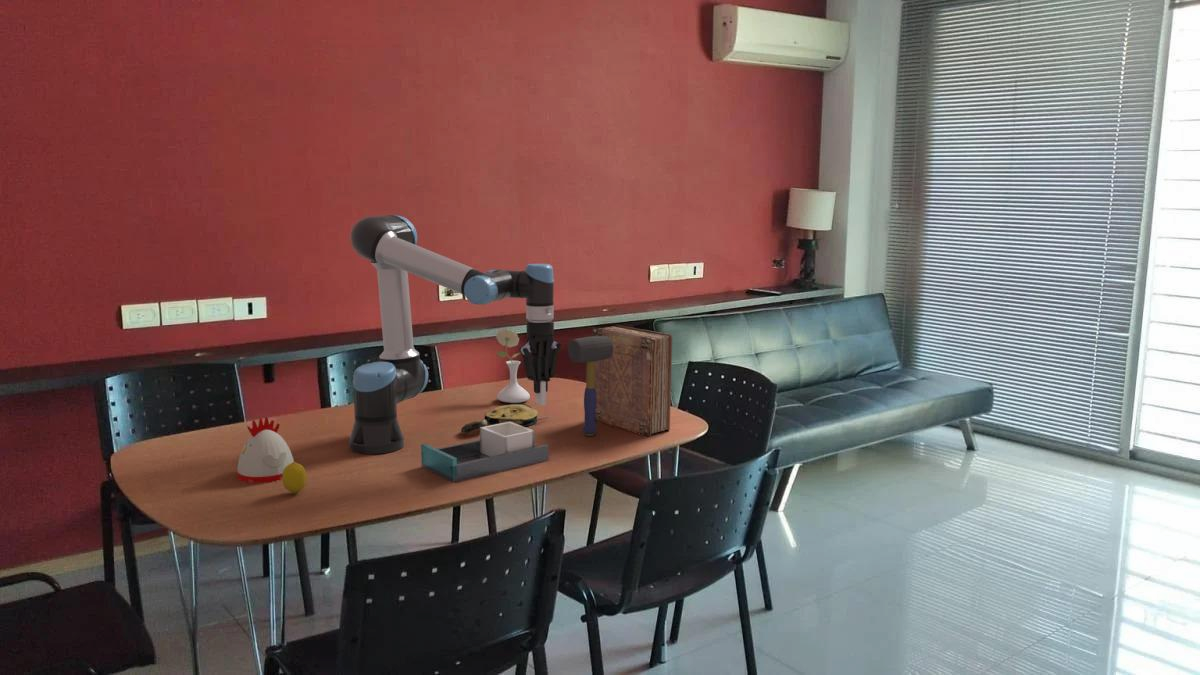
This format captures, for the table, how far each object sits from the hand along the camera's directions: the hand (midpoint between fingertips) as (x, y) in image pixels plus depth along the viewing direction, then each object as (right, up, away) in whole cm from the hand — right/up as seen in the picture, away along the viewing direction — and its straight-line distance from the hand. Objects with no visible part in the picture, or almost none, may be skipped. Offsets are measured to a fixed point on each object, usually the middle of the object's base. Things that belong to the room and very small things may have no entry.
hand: (540, 403), depth 251 cm
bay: (-14, -15, -9) cm, 23 cm away
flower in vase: (-14, -4, +58) cm, 60 cm away
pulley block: (-14, -9, +27) cm, 32 cm away
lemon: (-57, -19, -34) cm, 69 cm away
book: (+26, -9, +30) cm, 41 cm away
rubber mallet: (+13, -11, +19) cm, 26 cm away
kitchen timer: (-69, -17, -19) cm, 74 cm away
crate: (-9, -13, -5) cm, 17 cm away
